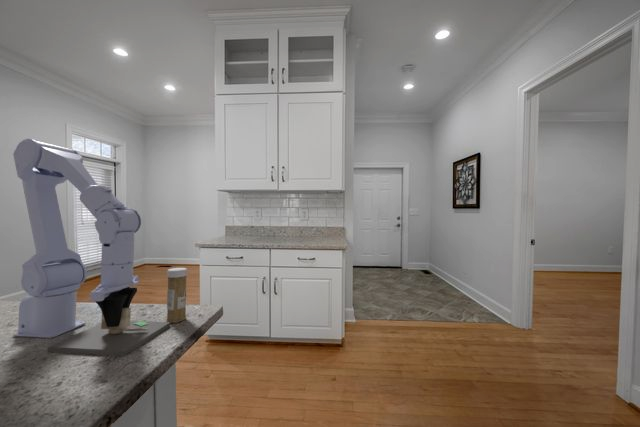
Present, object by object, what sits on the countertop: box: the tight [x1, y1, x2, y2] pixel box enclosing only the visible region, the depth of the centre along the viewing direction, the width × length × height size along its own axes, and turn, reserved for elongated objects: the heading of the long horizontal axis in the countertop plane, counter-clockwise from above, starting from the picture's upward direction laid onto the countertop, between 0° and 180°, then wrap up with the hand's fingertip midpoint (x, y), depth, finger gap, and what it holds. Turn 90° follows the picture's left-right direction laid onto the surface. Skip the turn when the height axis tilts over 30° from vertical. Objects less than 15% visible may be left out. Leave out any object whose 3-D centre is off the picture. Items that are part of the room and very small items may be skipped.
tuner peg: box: [100, 307, 148, 334], centre depth 59 cm, size 9×3×5 cm, turn 96°
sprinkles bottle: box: [166, 267, 188, 324], centre depth 69 cm, size 5×5×13 cm
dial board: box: [47, 320, 171, 357], centre depth 59 cm, size 16×14×1 cm
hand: (116, 324), depth 59 cm, fingers closed on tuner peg, 2 cm apart
